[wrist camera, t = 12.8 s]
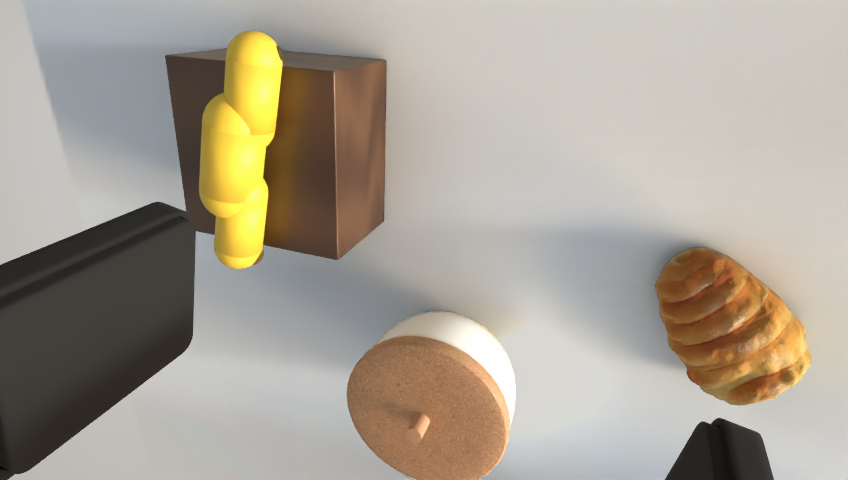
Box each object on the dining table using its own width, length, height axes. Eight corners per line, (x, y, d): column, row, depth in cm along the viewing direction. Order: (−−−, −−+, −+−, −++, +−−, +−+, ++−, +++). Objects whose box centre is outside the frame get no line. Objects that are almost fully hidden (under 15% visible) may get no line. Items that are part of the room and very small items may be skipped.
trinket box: (498, 271, 38) (460, 344, 30) (550, 402, 40) (527, 502, 32) (369, 304, 43) (306, 374, 35) (423, 418, 45) (375, 509, 37)
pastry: (625, 274, 35) (624, 302, 32) (732, 220, 32) (743, 244, 28) (707, 388, 36) (714, 427, 33) (819, 347, 33) (839, 386, 29)
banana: (215, 16, 29) (198, 25, 26) (291, 33, 30) (283, 44, 27) (203, 245, 36) (188, 274, 33) (266, 255, 36) (257, 283, 33)
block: (239, 46, 38) (164, 54, 32) (387, 59, 35) (334, 71, 29) (252, 197, 43) (188, 229, 37) (384, 221, 40) (337, 260, 34)
